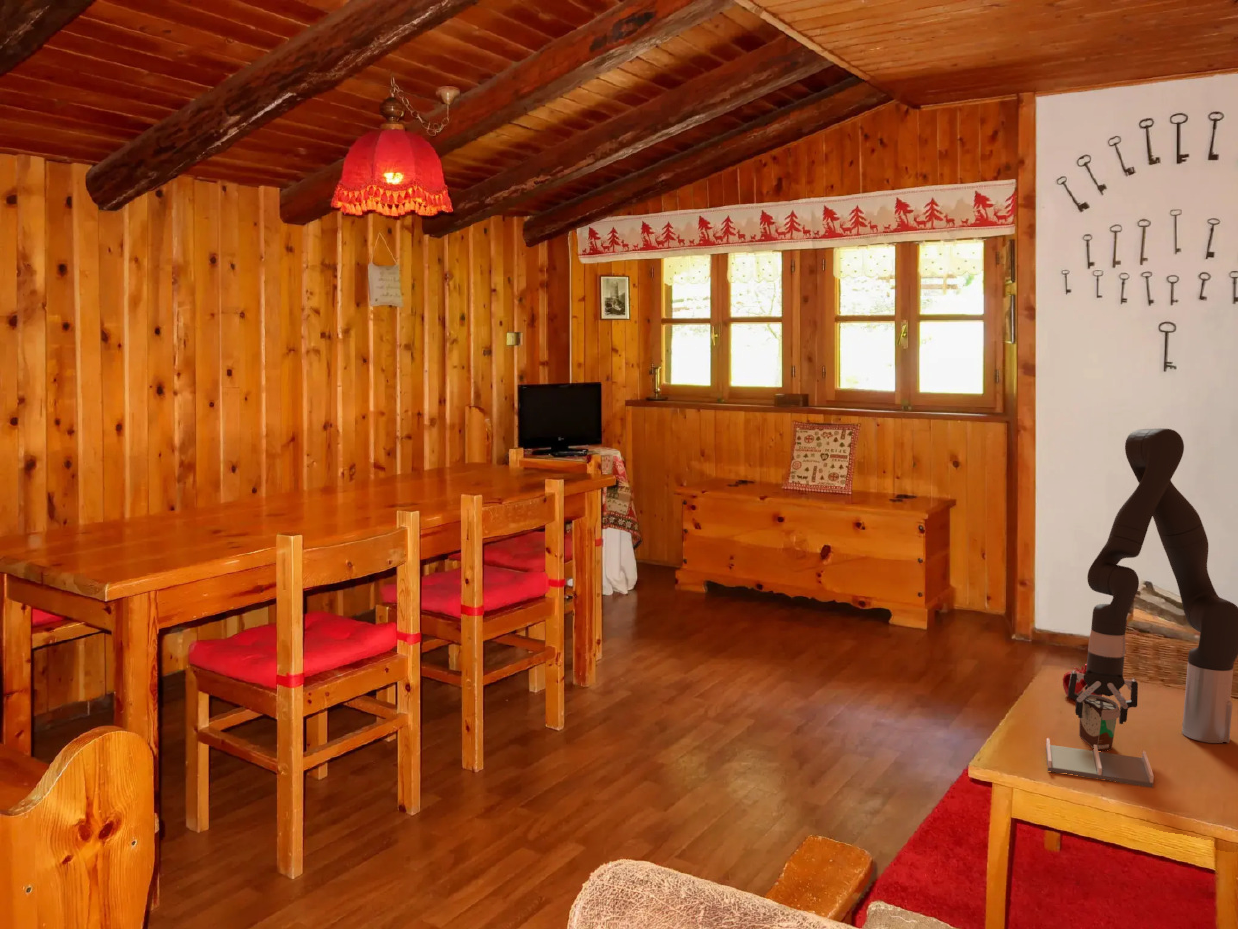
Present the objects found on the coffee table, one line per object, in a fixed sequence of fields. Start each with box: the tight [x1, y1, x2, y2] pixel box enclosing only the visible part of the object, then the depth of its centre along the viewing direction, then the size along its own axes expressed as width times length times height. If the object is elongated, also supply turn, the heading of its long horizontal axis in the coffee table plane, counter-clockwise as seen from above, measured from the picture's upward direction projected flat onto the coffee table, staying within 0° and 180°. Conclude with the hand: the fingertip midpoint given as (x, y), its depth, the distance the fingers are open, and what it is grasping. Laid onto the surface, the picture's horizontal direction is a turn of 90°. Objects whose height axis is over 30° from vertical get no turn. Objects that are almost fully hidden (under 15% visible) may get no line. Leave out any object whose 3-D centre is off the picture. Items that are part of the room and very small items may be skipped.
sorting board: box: [1045, 737, 1155, 788], centre depth 222 cm, size 20×14×2 cm
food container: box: [1078, 694, 1120, 752], centre depth 235 cm, size 12×6×10 cm, turn 179°
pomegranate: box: [1062, 663, 1103, 700], centre depth 266 cm, size 10×10×9 cm
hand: (1100, 720), depth 235 cm, fingers open, 8 cm apart
